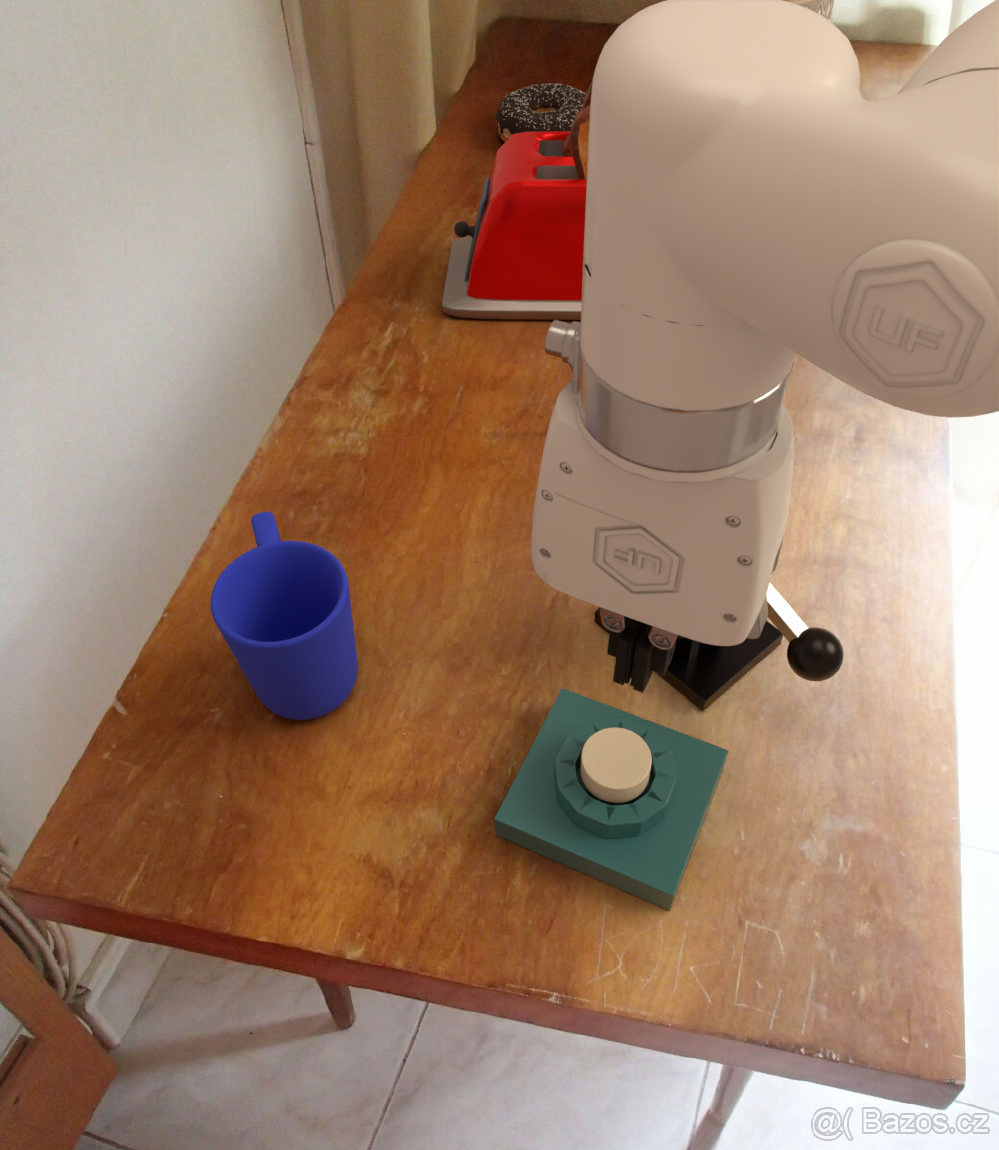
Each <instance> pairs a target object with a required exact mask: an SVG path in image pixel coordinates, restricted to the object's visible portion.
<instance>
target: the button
mask: <svg viewBox="0 0 999 1150" xmlns="http://www.w3.org/2000/svg"><path fill="white" fill-rule="evenodd" d="M651 764H652V757H651V752H650V749H649V747H648V746H647V744H646V743H645V741H644V740H643V739H642V738H641V737H640V736H639V735H637V734H636V733H634V732H632V731H630V730H627V729H624V728H616V727H614V728H606V729H602V730H600V731H598V732H596V733H594V734H593V735H592V736H591V737H590V738H588V740H587V741H586V743H585V744H584V746H583V749H582V754H581V778H582V781H583V783H584V785H585V787H586V788H587V789H588V790H589V792H590V793H592V794H593V795H594V796H595V797H597V798H599V799H601V800H603V801H606V802H611V803H623V802H627V801H630V800H632V799H634V798H636V797H638V796H639V795H640V794H641V793H642V792H643V791H644V790H645V788H646V786H647V784H648V781H649V776H650V770H651Z"/></svg>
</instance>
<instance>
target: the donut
mask: <svg viewBox="0 0 999 1150" xmlns="http://www.w3.org/2000/svg"><path fill="white" fill-rule="evenodd" d="M585 95H586V92H583V91H582V90H580V89H578V88H575V87H574V86H573V85H572V86H570V85H568V84H563V83H559V82H557V83H554V82H553V83H542V84H532V85H527V86H524V87H522V88H519V89H517V90H515V91H512V92H509V93H508V94H506V95H505V97H504V98H502V100H501V102H500V104H499V105H498V108H497V112H496V118H495V119H496V122H497V121H498V126H499V130H500V133H501V134H503V135H504V136H505V137H506V138H510V137H511V136H512V135H513V134H516V133H522V132H544V131H570V130H571V127H572V124H573V121H574V118H575V115H576V114H577V113H579V112H580V111H581V109H582V105H583V101H584V97H585ZM499 137H500V139H501V141H502V142H504V143H505V142H506V141H505V140H504V139H503V138H502V137H501V136H500V135H499Z"/></svg>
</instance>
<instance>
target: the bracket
mask: <svg viewBox="0 0 999 1150" xmlns="http://www.w3.org/2000/svg"><path fill="white" fill-rule="evenodd" d="M593 622H594V623H595V624H597V626H599V628H600V629H602V630H603V631H604V632H606V633H607V634H608V635H609V631H610V630H608V629H607V628H606V627H604V626H603V624H602V622H601V617H600V609H599V608H597V609H596V610H594V619H593ZM783 638H784V636H783V635H782V633H781V632H780V631H779V630H778V629H777V627H776V626H775V625H774V624H773V623H772V624H771V623H770V622H769V621H768V620H766V622H765V625H764V627H763V630H762V633H761V635H760V637H759V638H756V639H749V638H746V639H745V640H744V641H743V642H742V643H740V644H737V645H733V646H717V645H710V644H706V643H702V642H698V641H695V640H692V639H689V638H683V639H678V640H676V645H675V650H674V653H673V657H672V659H671V662H670V664H669V666H668V669H667V671H666V673H665V675H661V674H659V673H656V674H657V675H658V676H659V677H660V678H661V679H663V680H664V681H665V682H666V683H668V684H669V685H670V686H671V687H672V688H674V689H675V690H676V691H677V692H678V693H679V694H681V695H682V696H684V697H685V698H686V699H687V700H688V701H689V702H691V704H693V705H694V706H695V707H697V708H698V709H699V710H700V711H701V712H704V711H705V710H706V709H707V708H709V707H710V706H711V705H712V704H713V703H714V702H716V701H717V700H718V699H719V698H720V697H721V696H723V695H724V694H725V693H726V692H727V691H728V690H730V689H731V688H732V687H733V686H734V685H736V683H738V682H739V681H740V680H741V679H742V678H744V676H746V674H748V673H749V672H750V671H752V670H753V669H754V668H755V667H756V666H757V665H758V664H759V663H760V662H762V661H763V660H764V659H765V658H766V657H768V656H769V655H770V654H771V653H772V652H773V651H775V649H777V648H778V647H779V646H780V645H781V644H782V641H783Z"/></svg>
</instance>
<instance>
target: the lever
mask: <svg viewBox="0 0 999 1150" xmlns="http://www.w3.org/2000/svg"><path fill="white" fill-rule="evenodd" d="M767 605H768V617H767V619H769V620H770V622H771V623H772V625H773V626H774V627H776V628H777V629H778V630H779V631H780V632H781V633H782V635H783V638H784V639H786V641H787V642H788V644H787V649H786V658H787V662H788V665H789V667H790V669H791V670H792V672H794V673H795V675H797V676H798V677H799V678H801V679H802V680H806V681H809V682H816V683H817V682H823V681H826V680H828V679H831V678H832V677H833V676H835V675H836V674H837V673H838V672H839V670H840V669H841V667H842V665H843V662H844V657H845V656H844V654H845V653H844V648H843V645H842V643H841V641H840V639H839V638H838V636H836V635H835V634H834V633H832V632H831V631H830V630H828V629H826V628H823V627H816V626H815V627H814V626H813V627H812V626H811V627H809V626H808V625H807V624H806V623H805V621H804V620H803V619H802V618H801V617H800V615H798V613H797V612H796V611H795V610H794V609H793V607H792V606H791V605H790V604H789V602H788V601H787V600H786V598H784V596H783V595H782V594H781V592H779V591H778V589H777V588H776V586H775V585H774V584H773V583H772V582H771V581H770V583H769V587H768V590H767Z"/></svg>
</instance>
